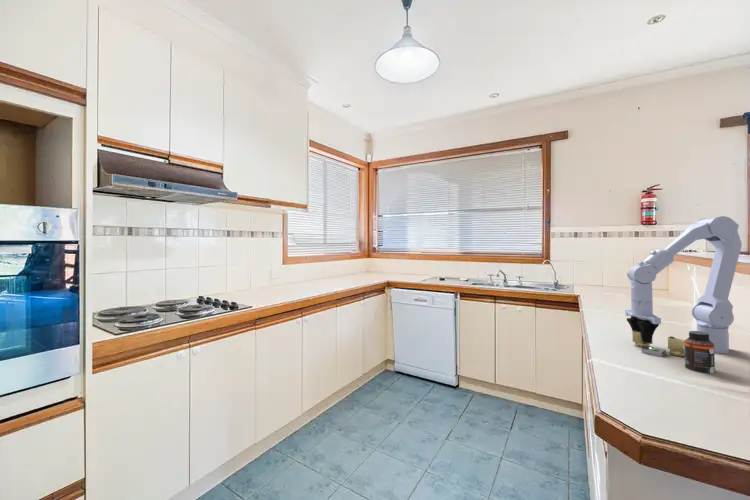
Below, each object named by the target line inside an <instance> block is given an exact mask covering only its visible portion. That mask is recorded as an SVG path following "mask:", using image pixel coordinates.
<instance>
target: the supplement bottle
mask: <svg viewBox="0 0 750 500" xmlns="http://www.w3.org/2000/svg"><path fill="white" fill-rule="evenodd" d="M684 341H685V342H684V344H685V357H684V367H685V368H686V370H689V371H692V372H697V373H701V374H702V373H703V374H714V373H716V367H715V366H716V363H715V360H716V359H715V358H716V357H715V354H716V353H714V343H713V342H711V341H710V340H709V334H708V333H706V332H700V331H697V330H689V331H688V337H687V338H686V339H684Z"/></svg>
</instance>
